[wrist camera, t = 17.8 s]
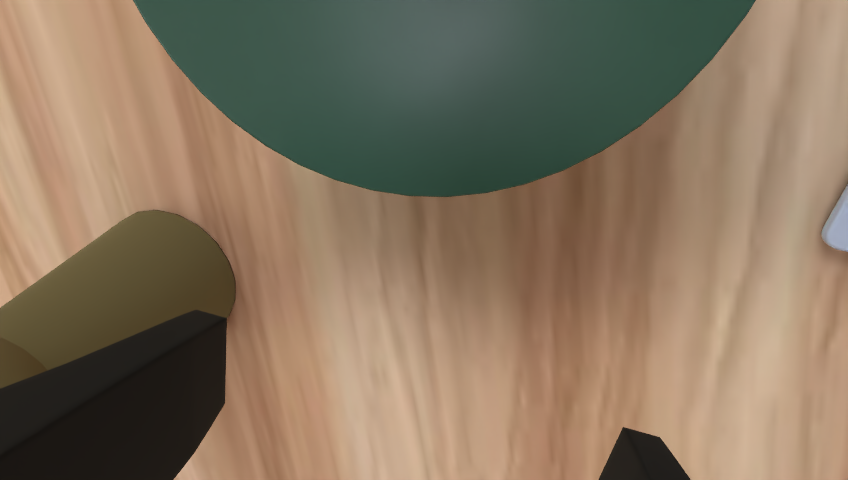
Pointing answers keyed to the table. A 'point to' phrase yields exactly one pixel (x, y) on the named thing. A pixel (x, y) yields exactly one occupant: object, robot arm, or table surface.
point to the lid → (441, 80)
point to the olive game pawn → (114, 293)
